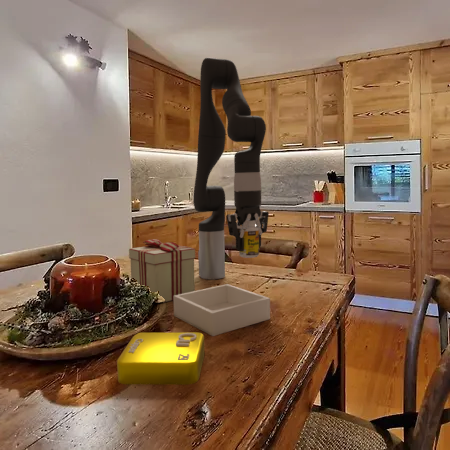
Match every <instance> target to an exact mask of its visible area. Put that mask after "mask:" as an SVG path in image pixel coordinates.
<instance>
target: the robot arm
mask: <svg viewBox="0 0 450 450" xmlns="http://www.w3.org/2000/svg"><path fill="white" fill-rule="evenodd" d="M200 66H201V67H200V76H199V77H200V78H199V79H200V80H199V81H200V84H199V85H200V109H199V112H200V113H199V122H198V123H199V124H198V136H197V161H196V162H197V163H196V171H195V172H196V173H195V178H194V179H195V180H194V185H193V187H194V188H193V194H192V195H193V197H192V199H193V207H194V210H195V211H196V212H198V213H207V212H209V213H210V212H212V213H211V215H210V216H209V217H208V218H205V219H204V220H202V221H200V222H199V223H198V252H197V254H198V259H197V260H198V276H199V277H200V278H201V279H204V280H218V279H223V278H225V277H226V262H225V261H226V260H225V259H226V258H225V257H226V256H225V252H226V251H225V222H227V229H228V234H229V236H230V237H231V236H232V237H234V238H235V248H236V250H237V251H238V252H239V251H244V238H242V237H243V235H244V232H245V230H246V229H247V226H248V223H249V221H252V220H255V221H256V226H255V227H258V229H259V249H261V246H262V234H263V233H267V230H268V222H269V211H261V208H260V207H261V206H262V178H261V169H260V168H261V152H262V148H263V145H264V144H263V143H264V141H265V136H266V132H267V125H266V122H265V120H264V119H263V117H261V116H259V115H252V111H251V108H250V105H249V103H248V101H247V99H246V97H245V95H244V93H243V91H242V85H241V81H240V76H239V73H238V69H237V66H236V64H235V62H233V60H230V59H227V58H226V59H225V58H216V57H205V58H203V59H202V62H201V65H200ZM213 90H226V91H225V92H224V93H223V96H222V100H221V106H222V108H223V111H224V113H225V116H226V118H227V126H226V127H227V129H226V127H225V125H224V123H223V121H222V119H221V117H220V115H219V113H218V111H217V109H216V107H215V104H214V100H213V99H214V98H213ZM226 131H227V133H226ZM226 134H227V136H228V138H229V139H230V141H232V142H234V143H235V142H236V143H250V145H249V146H248V148H247V149H244V150H239V151H236V153H234V158H233V160H234V166H233V167H234V177H233V194H234V195H233V196H234V198H233V201H234V203H233V204H234V206H235V211H234V212H233V213H232V214H231V213H228V214H227V215H226V192H225V189H224V188H223V186H221V185H208V180H209V177H210V174H211V172H212V170H213V169H214V168H215V166H216V164H217V163H218V162H219V161H220V160H221V157H222V155H223V154H224V152H225V147H226ZM240 229H241V230H240Z"/></svg>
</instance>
